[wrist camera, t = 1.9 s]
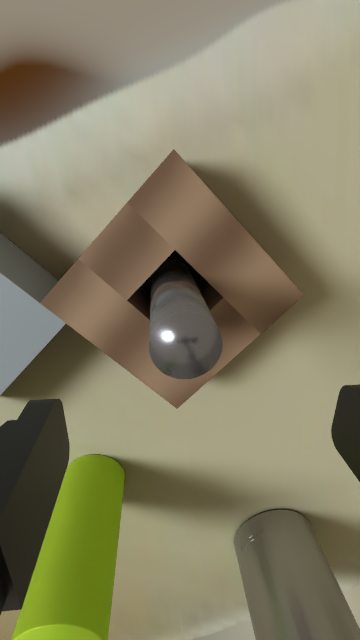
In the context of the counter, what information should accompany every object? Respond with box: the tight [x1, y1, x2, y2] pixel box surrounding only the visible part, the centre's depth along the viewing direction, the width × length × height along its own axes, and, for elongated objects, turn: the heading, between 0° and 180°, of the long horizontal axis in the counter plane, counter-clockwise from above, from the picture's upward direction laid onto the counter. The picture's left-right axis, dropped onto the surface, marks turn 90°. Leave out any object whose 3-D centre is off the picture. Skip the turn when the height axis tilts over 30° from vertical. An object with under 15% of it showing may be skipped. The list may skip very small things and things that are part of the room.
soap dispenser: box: [11, 455, 125, 640], centre depth 22 cm, size 6×7×20 cm
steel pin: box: [149, 260, 223, 379], centre depth 19 cm, size 3×3×12 cm
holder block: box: [40, 150, 304, 408], centre depth 22 cm, size 12×12×5 cm
